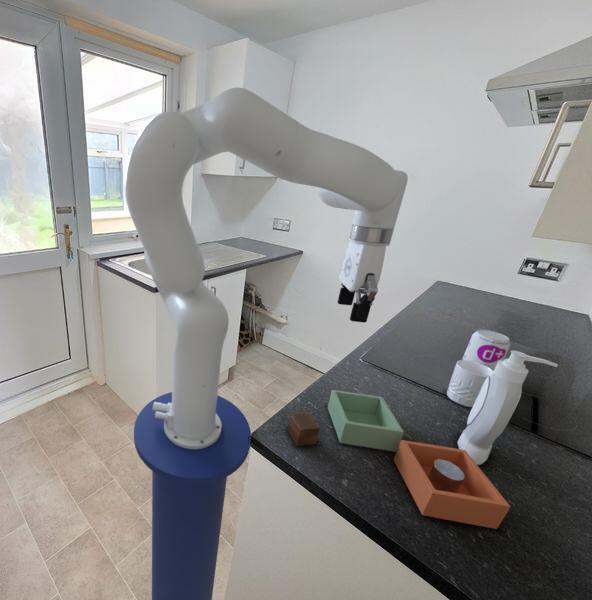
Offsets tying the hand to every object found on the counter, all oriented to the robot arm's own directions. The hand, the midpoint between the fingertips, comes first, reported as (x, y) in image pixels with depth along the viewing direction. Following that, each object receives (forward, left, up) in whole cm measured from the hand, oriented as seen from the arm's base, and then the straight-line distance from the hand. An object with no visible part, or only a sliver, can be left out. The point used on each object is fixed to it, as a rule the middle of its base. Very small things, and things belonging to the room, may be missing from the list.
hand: (350, 312), depth 69 cm
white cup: (+38, +12, -26) cm, 48 cm away
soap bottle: (+30, -8, -26) cm, 41 cm away
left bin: (+6, -6, -26) cm, 28 cm away
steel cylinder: (+16, -20, -26) cm, 36 cm away
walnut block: (-8, -12, -26) cm, 30 cm away
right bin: (+16, -20, -26) cm, 37 cm away
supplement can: (+48, +24, -26) cm, 60 cm away
